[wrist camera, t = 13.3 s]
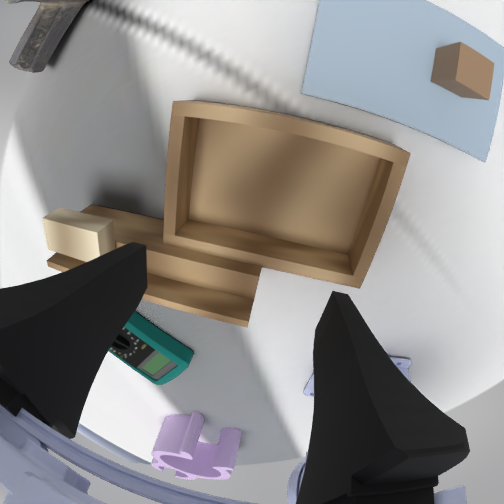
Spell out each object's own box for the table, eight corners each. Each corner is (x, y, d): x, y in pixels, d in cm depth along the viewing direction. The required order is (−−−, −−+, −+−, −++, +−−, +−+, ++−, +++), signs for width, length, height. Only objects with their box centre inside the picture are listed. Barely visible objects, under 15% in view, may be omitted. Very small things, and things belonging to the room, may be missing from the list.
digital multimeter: (83, 261, 25) (67, 277, 23) (198, 349, 29) (189, 371, 26) (70, 298, 29) (56, 313, 26) (168, 372, 32) (159, 390, 30)
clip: (205, 456, 47) (197, 484, 41) (148, 432, 45) (137, 460, 39) (256, 434, 37) (249, 473, 31) (180, 402, 35) (165, 443, 29)
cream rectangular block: (113, 219, 16) (97, 232, 15) (115, 252, 18) (101, 266, 16) (58, 207, 17) (42, 218, 15) (63, 237, 18) (48, 249, 16)
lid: (492, 50, 10) (533, 47, 6) (472, 156, 15) (512, 176, 11) (323, -23, 11) (330, -57, 7) (301, 94, 16) (301, 91, 11)
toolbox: (393, 144, 16) (433, 166, 10) (343, 287, 22) (351, 347, 16) (91, 97, 17) (30, 108, 11) (93, 228, 23) (48, 266, 17)
